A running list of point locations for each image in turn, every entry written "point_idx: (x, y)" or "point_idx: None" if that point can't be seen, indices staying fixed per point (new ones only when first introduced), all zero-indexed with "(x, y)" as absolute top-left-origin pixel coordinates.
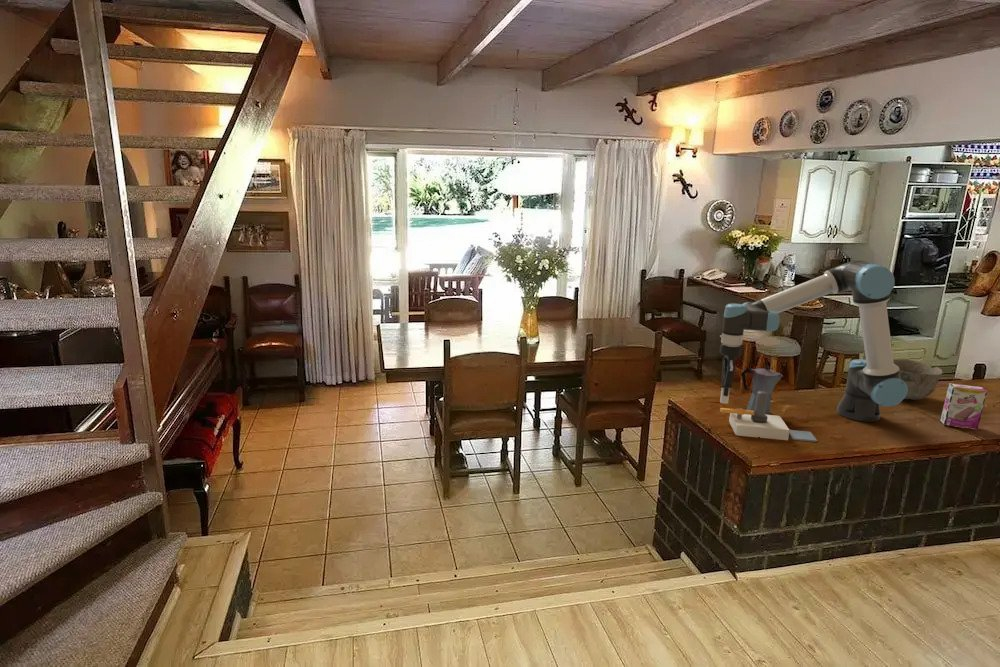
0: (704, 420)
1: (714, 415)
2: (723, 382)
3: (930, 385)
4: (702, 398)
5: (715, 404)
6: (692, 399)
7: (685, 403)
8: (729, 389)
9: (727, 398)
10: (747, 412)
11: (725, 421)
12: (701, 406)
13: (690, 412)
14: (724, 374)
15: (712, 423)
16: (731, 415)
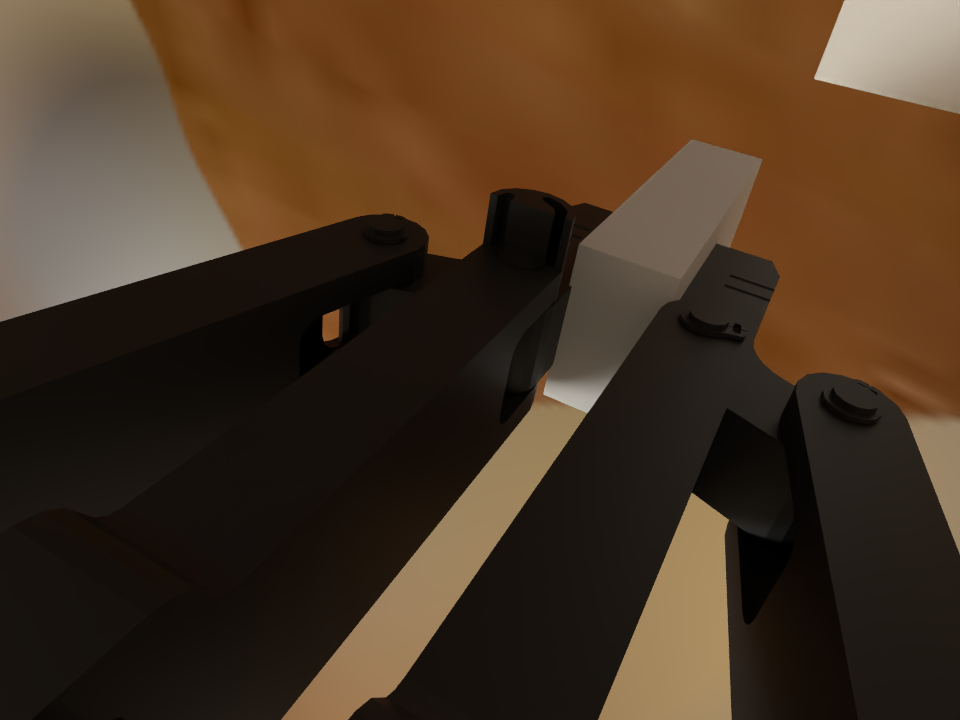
0: (767, 363)
1: (619, 174)
2: (510, 428)
3: None
4: (182, 92)
5: (296, 10)
6: (231, 205)
7: (335, 315)
8: (689, 266)
9: (736, 211)
10: None
11: (836, 116)
12: (378, 200)
13: (541, 384)
14: (379, 587)
15: (879, 322)
16: (956, 108)
